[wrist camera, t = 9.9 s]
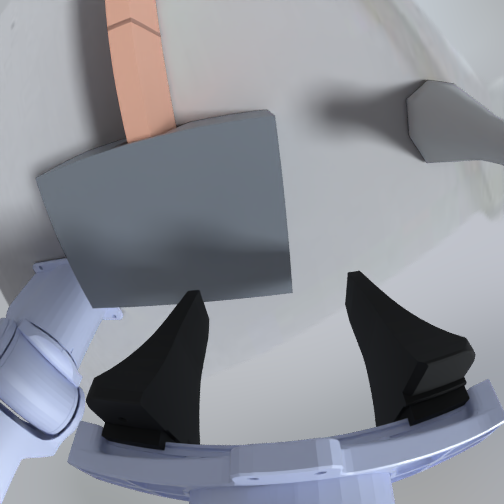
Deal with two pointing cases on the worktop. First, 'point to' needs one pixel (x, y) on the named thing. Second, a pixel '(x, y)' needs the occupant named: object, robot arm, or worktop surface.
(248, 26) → the worktop surface
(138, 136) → the strip
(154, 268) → the block
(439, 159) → the flask
